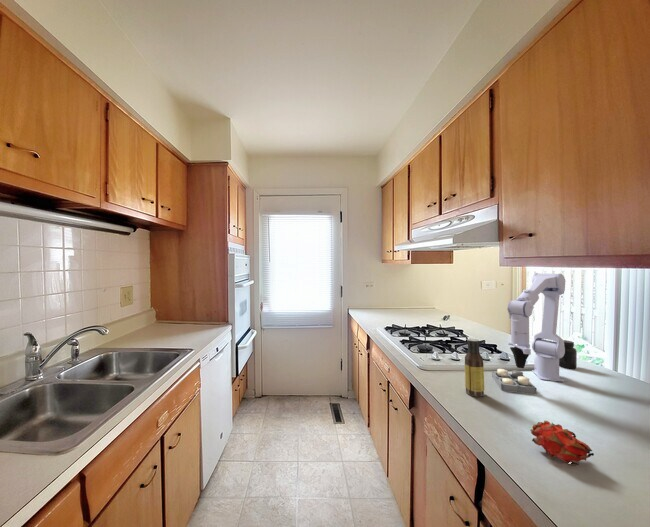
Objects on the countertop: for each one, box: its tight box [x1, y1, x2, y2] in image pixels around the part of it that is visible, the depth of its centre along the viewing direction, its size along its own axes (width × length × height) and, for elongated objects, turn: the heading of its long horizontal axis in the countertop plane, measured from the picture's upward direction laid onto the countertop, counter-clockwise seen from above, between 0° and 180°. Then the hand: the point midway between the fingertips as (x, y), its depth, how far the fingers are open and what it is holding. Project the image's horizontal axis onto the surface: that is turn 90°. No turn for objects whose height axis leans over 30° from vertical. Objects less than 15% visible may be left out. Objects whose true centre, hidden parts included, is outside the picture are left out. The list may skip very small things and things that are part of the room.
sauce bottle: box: [464, 338, 485, 398], centre depth 102 cm, size 6×6×20 cm
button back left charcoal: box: [511, 369, 524, 378], centre depth 111 cm, size 4×4×2 cm
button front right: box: [502, 378, 513, 385], centre depth 106 cm, size 4×4×2 cm
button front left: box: [518, 376, 530, 385], centre depth 105 cm, size 4×4×2 cm
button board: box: [491, 371, 538, 395], centre depth 109 cm, size 13×11×2 cm
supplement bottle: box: [559, 339, 578, 370], centre depth 128 cm, size 7×7×12 cm
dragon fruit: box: [530, 420, 595, 466], centre depth 68 cm, size 8×8×12 cm
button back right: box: [496, 368, 509, 377], centre depth 112 cm, size 4×4×2 cm
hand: (520, 367), depth 105 cm, fingers closed
